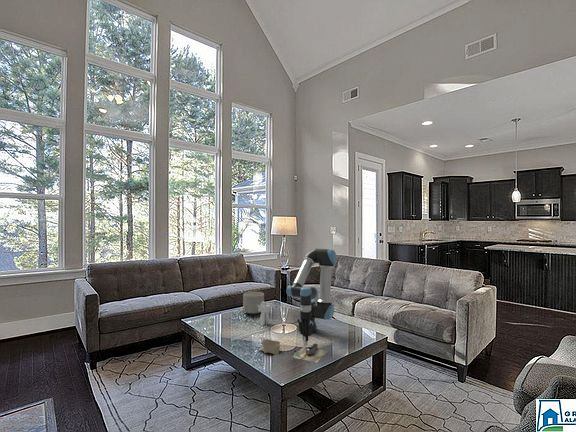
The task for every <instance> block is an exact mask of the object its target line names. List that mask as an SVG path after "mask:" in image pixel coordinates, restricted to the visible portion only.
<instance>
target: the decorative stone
mask: <svg viewBox="0 0 576 432" xmlns="http://www.w3.org/2000/svg"><path fill="white" fill-rule="evenodd" d="M260 342H261V344H262V346H261V347H260V348H259V352H263V353H264V354H266V353H267V354H268V353H269V354H272V355H277V354H278V355H279V354H280V349H281V343H280V341H279V340H278V341H277V340H272V339H268V338H263V339H262V340H261V341H260Z"/></svg>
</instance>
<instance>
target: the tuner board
mask: <svg viewBox="0 0 576 432" xmlns="http://www.w3.org/2000/svg"><path fill="white" fill-rule="evenodd" d="M307 347H308V346H303V347H302V348H301V349H298V350H297V351H296V352H295V353H294V355H293V356H292V358H295V359H298V360H303V361H307V362H312V363H316V364H318V362H320V360H321V359H322V358H323V357H324V356H325V355H326V354H327V353H328V352H329V351H328V350H323V349H317V350H315V355H312V356H309V355H307V356H305V357H304V355H305V354H306V348H307Z"/></svg>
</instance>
